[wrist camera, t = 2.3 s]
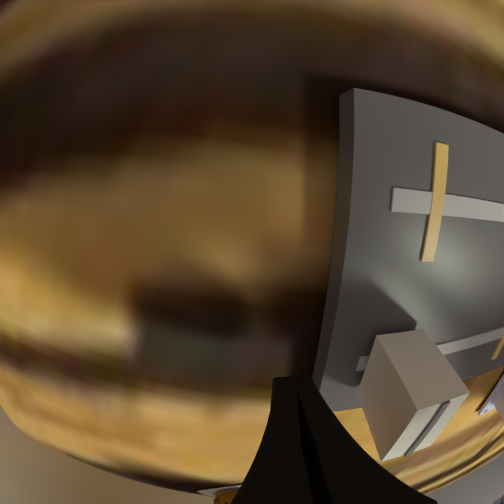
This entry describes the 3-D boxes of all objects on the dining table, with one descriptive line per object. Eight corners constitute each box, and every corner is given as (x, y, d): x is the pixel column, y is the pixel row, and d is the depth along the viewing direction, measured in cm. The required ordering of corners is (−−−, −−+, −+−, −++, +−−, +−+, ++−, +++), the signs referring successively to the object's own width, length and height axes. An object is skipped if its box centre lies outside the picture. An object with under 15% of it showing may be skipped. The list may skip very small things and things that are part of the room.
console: (550, 165, 9) (567, 170, 7) (500, 350, 14) (511, 362, 12) (339, 95, 8) (355, 87, 7) (308, 392, 13) (313, 415, 12)
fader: (423, 328, 10) (471, 394, 6) (399, 385, 11) (430, 447, 7) (376, 335, 10) (418, 412, 6) (356, 392, 11) (381, 463, 7)
